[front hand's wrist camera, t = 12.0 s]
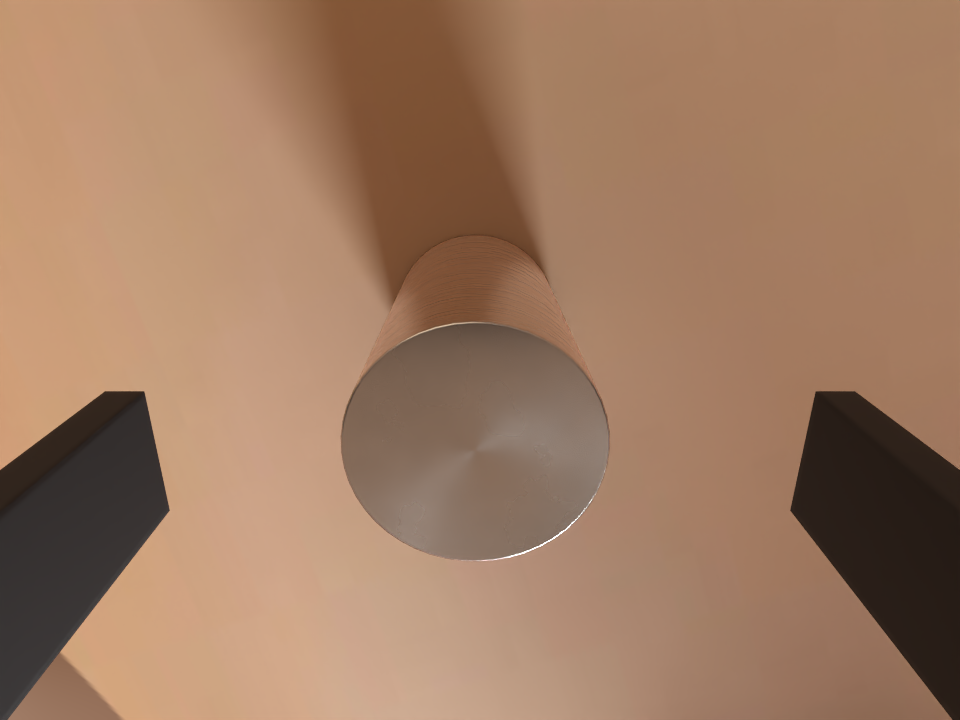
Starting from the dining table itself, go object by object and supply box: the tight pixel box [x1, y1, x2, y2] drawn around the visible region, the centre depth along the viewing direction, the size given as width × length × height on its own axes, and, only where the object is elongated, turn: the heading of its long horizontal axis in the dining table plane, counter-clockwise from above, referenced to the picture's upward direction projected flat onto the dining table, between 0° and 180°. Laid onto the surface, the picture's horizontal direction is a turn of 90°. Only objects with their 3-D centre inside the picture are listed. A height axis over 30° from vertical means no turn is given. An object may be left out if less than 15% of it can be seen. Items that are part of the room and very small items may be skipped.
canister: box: [341, 235, 610, 561], centre depth 19 cm, size 6×6×11 cm
